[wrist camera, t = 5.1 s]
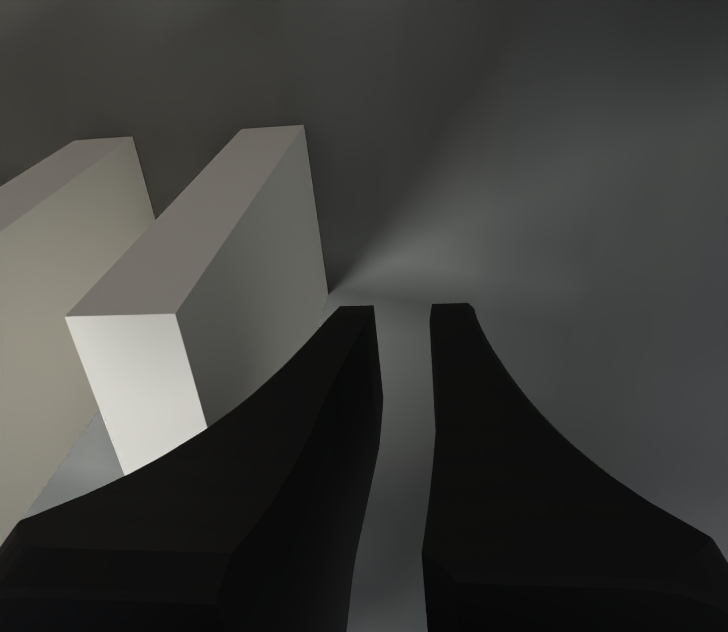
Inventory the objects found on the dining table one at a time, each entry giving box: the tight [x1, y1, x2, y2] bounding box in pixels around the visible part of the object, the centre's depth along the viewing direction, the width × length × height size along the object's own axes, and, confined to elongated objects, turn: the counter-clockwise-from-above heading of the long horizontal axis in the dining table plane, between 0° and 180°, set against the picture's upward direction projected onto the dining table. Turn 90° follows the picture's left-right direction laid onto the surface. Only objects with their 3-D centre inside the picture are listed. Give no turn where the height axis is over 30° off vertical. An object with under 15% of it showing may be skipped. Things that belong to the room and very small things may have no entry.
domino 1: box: [0, 136, 155, 546], centre depth 15 cm, size 2×5×9 cm, turn 6°
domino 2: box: [65, 125, 328, 476], centre depth 14 cm, size 2×5×9 cm, turn 6°
